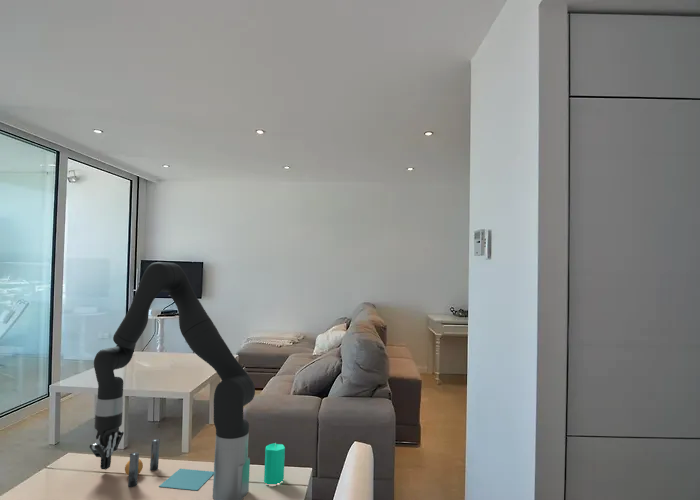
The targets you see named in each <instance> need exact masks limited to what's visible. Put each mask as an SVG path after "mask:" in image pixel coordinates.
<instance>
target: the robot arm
mask: <svg viewBox="0 0 700 500" xmlns="http://www.w3.org/2000/svg"><path fill="white" fill-rule="evenodd" d="M160 293H167V294H168V295H169V296H170V297H171V299H172V300H173V303H174V304H175V306H176V308H177V312H178V326H179V329H180V333H181V335H182V337H183V339H184V340H185V341H186V343H187V345H188V347H189V348H190V350H191V351H192V352H193V353H194V354H196V355H197V356H198V358H200V359H201V360H203V361H204V362H205V363H206V364H208V365H209V366H210V367H211V368H212V369H214V371H215V372H216V374H217V375H218V376H219V378H220V380H221V381H220V382H218V384H217V385H216V387H215V390H214V393H213V424H214V428H215V441H214V442H215V443H214V444H215V446H214V463H213V472H214V474H213V479H212V480H213V481H212V482H213V483H212V499H213V500H243V499H244V498H245V497H246V495H247V493H249V490H250V489H249V488H250V487H249V486H250V469H251V468H250V466H251V458H250V457H248V455H249V434H250V433H249V431H250V423H249V421H248V420H246V419H244V407H245V406H247V405H248V404H250V402H252V401H253V400H254V397H255V395H256V394H255V393H256V387H255V384H254V381H253V379H252V378H251V377H250V375H249V374H248V373H247V371H246V370H245V369H244V368H243V366H242V365H241V364H240V363H239V361H238V360H237V358H236V357H235V356H234V354H233V353H232V351H231V350H230V348H229V347H228V345H227V344H226V342H225V340H224V339H223V337H222V336H221V334H220V333H219V331H218V329H217V327H216V325H215V323H214V322H213V320H212V319H211V318H210V316H209V314H208V313H207V312H206V309H205V308H204V306H203V305H202V303H201V302H200V300H199V299H198V297H197V294H196V293H195V291H194V289H193V287H192V285H191V283H190V280H189V278H188V277H187V274H186V273H185V271H184V269H183V268H182V267H181V265H178V264H177V263H174V262H164V261H157V262H151V264H149V265H148V266H147V267H146V268H145V270H144V272H143V275H142V277H141V279H140V281H139V284H138V286H137V290H136V291H135V294H134V297H133V300H132V301H131V303H130V307H129V309H128V310H127V312H126V314H125V316H124V318H123V319H122V321H121V323H120V324H119V326H118V328H117V329H116V331H114V332H115V333H114V334H113V335H112V336H113V337H112V340H113V342H114V343H115V345H116V346H113V347H108V348H104V349H100V350H99V351H98V352H96V355H95V356H94V359H93V368H94V369H93V370H94V372H95V376H96V381H97V397H96V398H97V399H96V405H95V411H94V412H95V414H94V415H95V416H94V429H95V430H96V431H97V433H96V435H95V440H94V443H90V445H89V449H90V450H91V452H92V453H93V455H94V456H95V457H96V458H100V469H101V470H105V471H106V470H108V469H109V468H111V465H112V464H111V463H112V456H113V455H114V452H116V451H117V449H118V447H119V444H120V443H121V440H122V438H123V436H124V431H121V430H120V427H121V426H122V424H123V410H124V398H123V397H124V379H123V378H122V377H121V376H116V375H115V370H119V369H122V368H124V367H127V365H128V364H129V363H130V362H131V360H132V359H133V356H134V352H135V348H136V346H137V345H136V344H137V342H138V341H139V340H140V338H141V336H142V334H143V333H144V331H145V329H146V328H147V326H148V321H149V316H150V315H149V313H150V309H151V308H150V307H151V306H152V303H153V302H154V300H155V299H156V298H157V296H158V295H159V294H160Z"/></svg>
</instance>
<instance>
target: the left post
mask: <svg viewBox="0 0 700 500" xmlns="http://www.w3.org/2000/svg"><path fill="white" fill-rule="evenodd" d="M139 459H140V452H139V451H135V452H131V453H130V454H129V461H130V464H129V476H128V481H127V482H128V483H127V486H128V488H135V487H136V486H138V478H139V477H138V475H139V474H138V463H139Z"/></svg>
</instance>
